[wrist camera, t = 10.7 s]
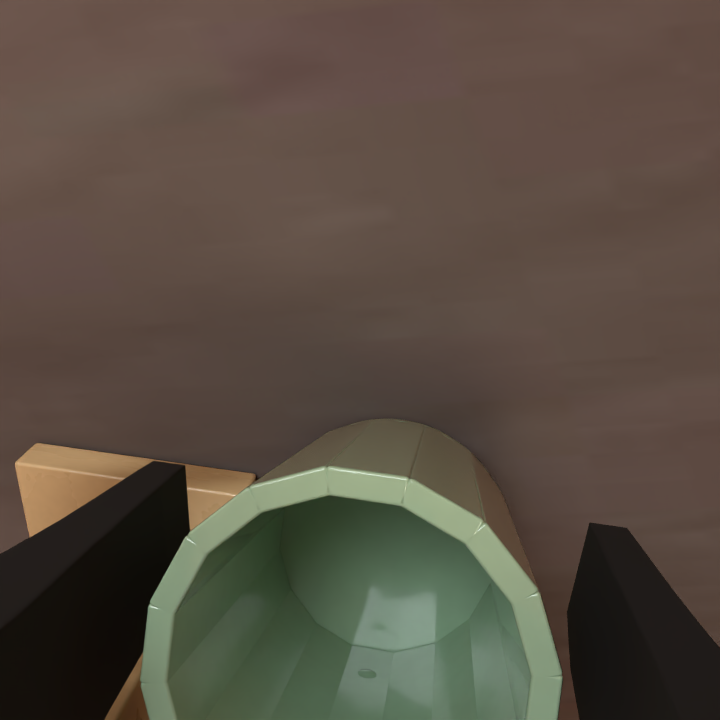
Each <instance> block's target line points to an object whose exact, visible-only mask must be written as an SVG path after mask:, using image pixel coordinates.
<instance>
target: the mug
mask: <svg viewBox="0 0 720 720" xmlns="http://www.w3.org/2000/svg"><path fill="white" fill-rule="evenodd" d="M140 682H141V690H142V694H143V697H144V701H145V705H146V709H147V712H148V716H149V720H558V714H559V706H560V698H561V690H562V683H563V677H562V668H561V665H560V661H559V657H558V654H557V650H556V647H555V643H554V640H553V636H552V633H551V629H550V625H549V622H548V618H547V615H546V611H545V608H544V604H543V601H542V597H541V594H540V591H539V588H538V586H537V583H536V581H535V578H534V575H533V573H532V570H531V568H530V565H529V562H528V560H527V557H526V555H525V552H524V550H523V547H522V544H521V542H520V539H519V537H518V534H517V531H516V529H515V526H514V524H513V521H512V518H511V516H510V513H509V511H508V508H507V505H506V503H505V500H504V498H503V495H502V492H501V491H500V489H499V487H498V486H497V485H496V483H495V482H494V481H493V479H492V477H491V476H490V475H489V473H488V472H487V470H486V469H485V467H484V466H483V465H482V464H481V463H480V461H479V460H478V459H477V458H476V457H475V456H474V455H473V454H472V453H471V452H470V451H469V450H468V449H467V448H465V447H464V446H463V445H462V444H461V443H459V442H457V441H456V440H454V439H453V438H451V437H450V436H448V435H447V434H445V433H443V432H441V431H439V430H437V429H435V428H432V427H429V426H426V425H423V424H420V423H417V422H412V421H407V420H402V419H388V418H385V419H370V420H365V421H360V422H355V423H352V424H350V425H347V426H344V427H341V428H338V429H335V430H331V431H330V432H327V433H326V434H324V435H323V436H321V437H320V438H318V439H317V440H316V441H314V442H313V443H311V444H310V445H308V446H307V447H305V448H304V449H302V450H301V451H299V452H298V453H296V454H295V455H293V456H292V457H290V458H289V459H288V460H286V461H285V462H283V463H282V464H280V465H279V466H277V467H276V468H274V469H273V470H271V471H270V472H268V473H267V474H265V475H264V476H262V477H261V478H259V479H258V480H257V481H255V482H254V483H252V484H251V485H249V486H248V487H246V488H245V489H244V490H242V491H241V492H240V493H239V494H237V495H236V496H235V497H233V498H232V499H231V500H230V501H228V502H227V503H226V504H224V505H223V506H222V507H221V508H219V509H218V510H217V511H215V512H214V513H213V514H212V515H210V516H209V517H208V518H207V519H205V520H204V521H203V522H201V523H200V524H199V525H198V526H196V527H195V528H194V529H192V530H191V531H190V532H189V533H188V535H187V536H186V537H185V538H184V540H183V541H182V543H181V545H180V547H179V549H178V550H177V552H176V554H175V556H174V558H173V560H172V561H171V563H170V565H169V567H168V569H167V571H166V572H165V574H164V576H163V578H162V580H161V581H160V583H159V585H158V587H157V589H156V591H155V592H154V594H153V596H152V598H151V600H150V604H149V606H148V613H147V622H146V631H145V640H144V649H143V658H142V667H141V676H140Z"/></svg>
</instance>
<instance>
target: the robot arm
mask: <svg viewBox="0 0 720 720" xmlns="http://www.w3.org/2000/svg"><path fill="white" fill-rule="evenodd" d="M189 532H190V523H189V509H188V495H187V482H186V468H185V465H181V464H174V463H167V462H160V461H152V462H151V463H149V464H147V465H145V466H144V467H142V468H141V469H139V470H137V471H136V472H134V473H133V474H131V475H129V476H128V477H126V478H125V479H123V480H122V481H120V482H119V483H117V484H116V485H114V486H113V487H111V488H109V489H108V490H106V491H105V492H103V493H102V494H100V495H99V496H97V497H96V498H94V499H92V500H91V501H89V502H88V503H86V504H84V505H83V506H81V507H80V508H78V509H77V510H75V511H73V512H72V513H70V514H69V515H67V516H65V517H64V518H62V519H61V520H59V521H57V522H56V523H54V524H52V525H50V526H49V527H47V528H45V529H43V530H42V531H40V532H38V533H37V534H35V535H33V536H31V537H30V538H28V539H26V540H24V541H23V542H21V543H19V544H17V545H16V546H14V547H12V548H11V549H9V550H7V551H5V552H3V553H1V554H0V720H105V718H106V716H107V714H108V712H109V710H110V709H111V707H112V705H113V703H114V702H115V700H116V698H117V696H118V695H119V693H120V691H121V689H122V688H123V686H124V684H125V682H126V681H127V679H128V677H129V676H130V674H131V672H132V670H133V669H134V667H135V665H136V663H137V662H138V660H139V658H140V656H141V655H142V653H143V649H144V640H145V631H146V622H147V613H148V606H149V604H150V600H151V598H152V596H153V594H154V592H155V591H156V589H157V587H158V585H159V583H160V581H161V580H162V578H163V576H164V574H165V572H166V571H167V569H168V567H169V565H170V563H171V561H172V560H173V558H174V556H175V554H176V552H177V550H178V549H179V547H180V545H181V543H182V541H183V540H184V538H185V537H186V536H187V535H188V533H189ZM567 618H568V637H569V653H570V667H571V674H572V680H573V686H574V691H575V697H576V702H577V708H578V713H579V719H580V720H720V648H719V646H718V645H717V644H716V643H715V642H714V641H713V639H712V638H711V637H710V636H709V635H708V633H707V632H706V631H705V630H704V628H703V627H702V626H701V625H700V623H699V622H698V621H697V620H696V618H695V617H694V616H693V615H692V614H691V612H690V611H689V610H688V609H687V607H686V606H685V605H684V604H683V602H682V601H681V600H680V598H679V597H678V596H677V594H676V593H675V592H674V591H673V589H672V588H671V587H670V585H669V584H668V583H667V581H666V580H665V579H664V577H663V576H662V575H661V573H660V572H659V571H658V569H657V568H656V566H655V565H654V564H653V562H652V561H651V560H650V558H649V557H648V556H647V554H646V553H645V552H644V550H643V549H642V547H641V546H640V545H639V543H638V542H637V541H636V539H635V538H634V537H633V535H632V534H631V533H630V531H629V530H628V529H627V528H623V527H616V526H609V525H602V524H595V523H589V527H588V531H587V535H586V539H585V543H584V547H583V551H582V555H581V559H580V563H579V567H578V571H577V575H576V579H575V583H574V587H573V591H572V595H571V599H570V603H569V607H568V611H567Z"/></svg>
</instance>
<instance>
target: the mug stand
mask: <svg viewBox="0 0 720 720" xmlns="http://www.w3.org/2000/svg"><path fill="white" fill-rule="evenodd" d="M152 461H160V462H167V463H174V464H181V465H185V468H186V482H187V495H188V509H189V523H190V531H191V530H192V529H194V528H195V527H196V526H198V525H199V524H200V523H201V522H203V521H204V520H205V519H207V518H208V517H209V516H210V515H212V514H213V513H214V512H215V511H217V510H218V509H219V508H221V507H222V506H223V505H224V504H226V503H227V502H228V501H230V500H231V499H232V498H233V497H235V496H236V495H237V494H239V493H240V492H241V491H242V490H244V489H245V488H246V487H248V486H249V485H251V484H252V483H254V482H255V481H256V475H255V474H253V473H246V472H239V471H232V470H225V469H218V468H211V467H204V466H197V465H190V464H183V463H176V462H169V461H162V460H155V459H148V458H141V457H134V456H127V455H120V454H113V453H106V452H99V451H91V450H84V449H77V448H70V447H63V446H56V445H49V444H42V443H36V444H34V445H33V446H32V447H31V448H30V449H29V450H28V451H27V452H26V453H25V454H24V455H23V456H21V457H20V458H19V459H18V460H17V461H16V463H15V468H16V473H17V478H18V483H19V488H20V493H21V498H22V502H23V507H24V512H25V517H26V522H27V527H28V532H29V537H31V536H33V535H35V534H37V533H38V532H40V531H42V530H43V529H45V528H47V527H49V526H50V525H52V524H54V523H56V522H57V521H59V520H61V519H62V518H64V517H65V516H67V515H69V514H70V513H72V512H73V511H75V510H77V509H78V508H80V507H81V506H83V505H84V504H86V503H88V502H89V501H91V500H92V499H94V498H96V497H97V496H99V495H100V494H102V493H103V492H105V491H106V490H108V489H109V488H111V487H113V486H114V485H116V484H117V483H119V482H120V481H122V480H123V479H125V478H126V477H128V476H129V475H131V474H133V473H134V472H136V471H137V470H139V469H141V468H142V467H144V466H145V465H147V464H149V463H151V462H152ZM142 658H143V653H142V655H141V656H140V658H139V660H138V662H137V663H136V665H135V667H134V669H133V670H132V672H131V674H130V676H129V677H128V679H127V681H126V682H125V684H124V686H123V688H122V689H121V691H120V693H119V695H118V696H117V698H116V700H115V702H114V703H113V705H112V707H111V709H110V710H109V712H108V714H107V716H106V718H105V720H149V716H148V712H147V709H146V705H145V701H144V697H143V694H142V690H141V682H140V676H141V667H142Z"/></svg>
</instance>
